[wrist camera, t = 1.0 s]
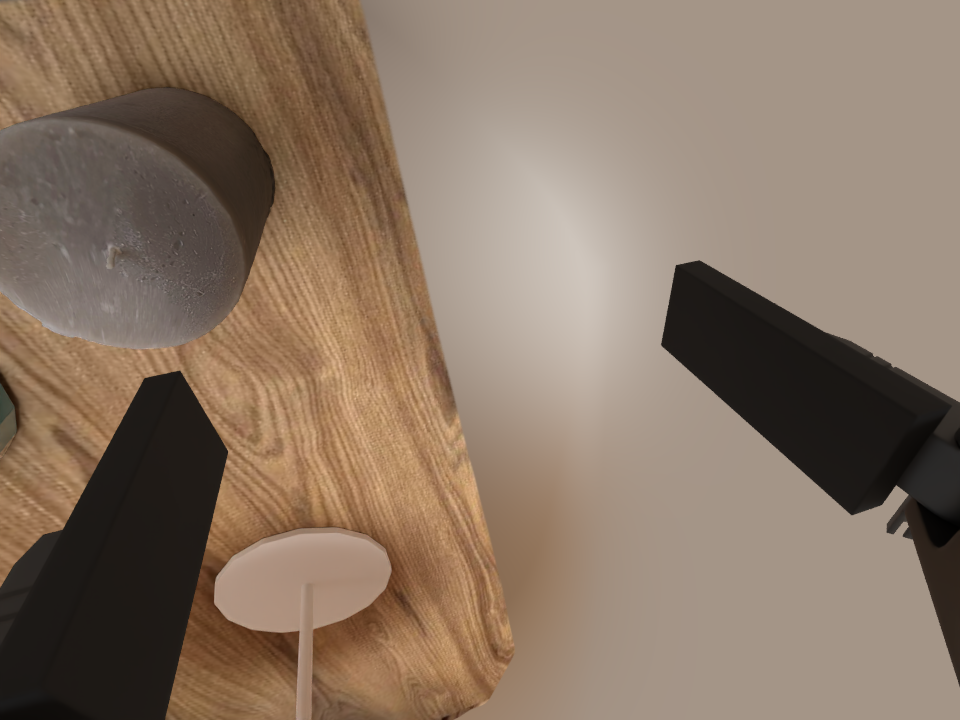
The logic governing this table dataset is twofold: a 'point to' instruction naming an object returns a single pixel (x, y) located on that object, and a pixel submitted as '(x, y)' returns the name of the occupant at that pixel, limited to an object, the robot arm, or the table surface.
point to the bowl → (6, 421)
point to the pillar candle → (132, 217)
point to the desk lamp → (302, 587)
